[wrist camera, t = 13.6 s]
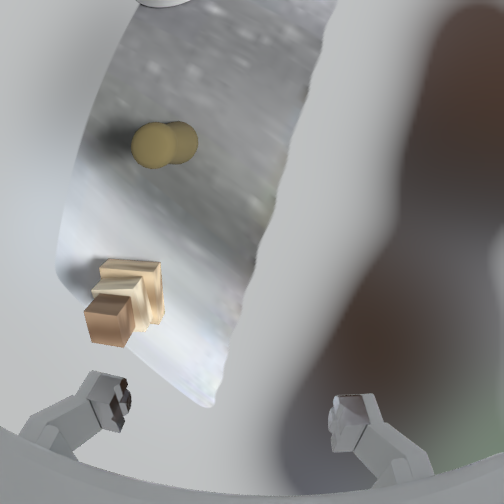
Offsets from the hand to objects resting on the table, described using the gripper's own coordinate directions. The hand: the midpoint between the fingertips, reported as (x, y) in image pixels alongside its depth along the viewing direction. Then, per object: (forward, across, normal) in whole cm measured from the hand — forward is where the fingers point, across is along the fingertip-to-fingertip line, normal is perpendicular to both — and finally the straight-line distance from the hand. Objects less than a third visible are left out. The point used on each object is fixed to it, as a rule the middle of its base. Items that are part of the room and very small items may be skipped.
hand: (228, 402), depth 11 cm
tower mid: (+31, +18, +14) cm, 38 cm away
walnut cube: (+27, +18, +14) cm, 35 cm away
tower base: (+35, +18, +14) cm, 42 cm away
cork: (+34, +11, -8) cm, 37 cm away
